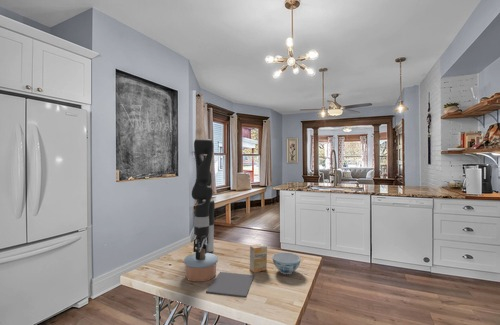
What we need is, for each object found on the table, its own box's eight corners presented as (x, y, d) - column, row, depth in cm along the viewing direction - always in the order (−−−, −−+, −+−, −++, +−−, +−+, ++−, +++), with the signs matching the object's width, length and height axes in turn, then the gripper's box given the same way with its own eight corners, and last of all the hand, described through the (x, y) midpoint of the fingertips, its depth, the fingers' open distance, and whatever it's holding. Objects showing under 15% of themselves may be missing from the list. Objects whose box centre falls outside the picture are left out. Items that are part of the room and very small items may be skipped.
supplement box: (253, 273, 127) (254, 248, 127) (249, 269, 131) (249, 245, 131) (267, 270, 131) (267, 246, 131) (262, 266, 135) (262, 243, 135)
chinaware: (305, 271, 129) (306, 257, 129) (290, 281, 118) (290, 265, 118) (282, 263, 140) (283, 250, 140) (266, 271, 129) (266, 257, 129)
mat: (220, 272, 126) (220, 271, 126) (253, 276, 123) (253, 275, 123) (206, 292, 107) (206, 291, 107) (245, 297, 103) (246, 295, 103)
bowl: (193, 267, 133) (193, 254, 133) (219, 269, 130) (219, 256, 130) (180, 279, 118) (180, 265, 118) (209, 283, 115) (209, 268, 116)
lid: (192, 253, 134) (192, 243, 134) (221, 256, 131) (222, 245, 131) (177, 266, 118) (178, 254, 118) (211, 269, 114) (211, 257, 114)
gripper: (200, 221, 132) (199, 251, 132) (188, 227, 118) (188, 261, 118) (213, 222, 131) (212, 252, 131) (203, 228, 117) (202, 262, 117)
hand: (201, 256), depth 124 cm, fingers open, 8 cm apart
